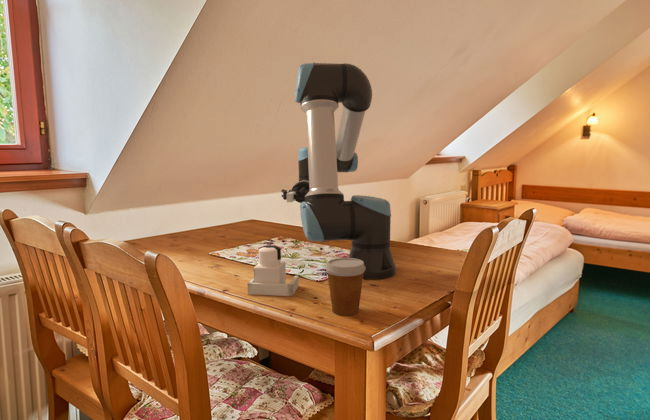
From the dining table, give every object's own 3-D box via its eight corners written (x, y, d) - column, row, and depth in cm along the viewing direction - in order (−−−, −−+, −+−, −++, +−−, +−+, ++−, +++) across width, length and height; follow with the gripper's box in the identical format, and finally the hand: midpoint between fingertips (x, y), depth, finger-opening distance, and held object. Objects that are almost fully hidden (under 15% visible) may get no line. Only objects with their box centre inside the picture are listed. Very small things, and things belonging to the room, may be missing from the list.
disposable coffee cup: (348, 321, 110) (348, 270, 108) (317, 311, 116) (316, 262, 114) (373, 310, 117) (373, 261, 115) (342, 301, 123) (342, 255, 121)
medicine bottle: (261, 285, 137) (260, 243, 135) (286, 286, 136) (285, 244, 134) (254, 293, 130) (252, 249, 128) (280, 294, 129) (279, 250, 127)
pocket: (298, 286, 135) (298, 275, 135) (292, 296, 127) (291, 285, 126) (257, 284, 137) (256, 274, 137) (247, 294, 129) (247, 283, 128)
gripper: (322, 202, 172) (309, 210, 149) (286, 202, 174) (268, 209, 151) (321, 180, 171) (309, 185, 148) (285, 181, 173) (268, 185, 150)
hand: (288, 197), depth 150 cm, fingers closed
